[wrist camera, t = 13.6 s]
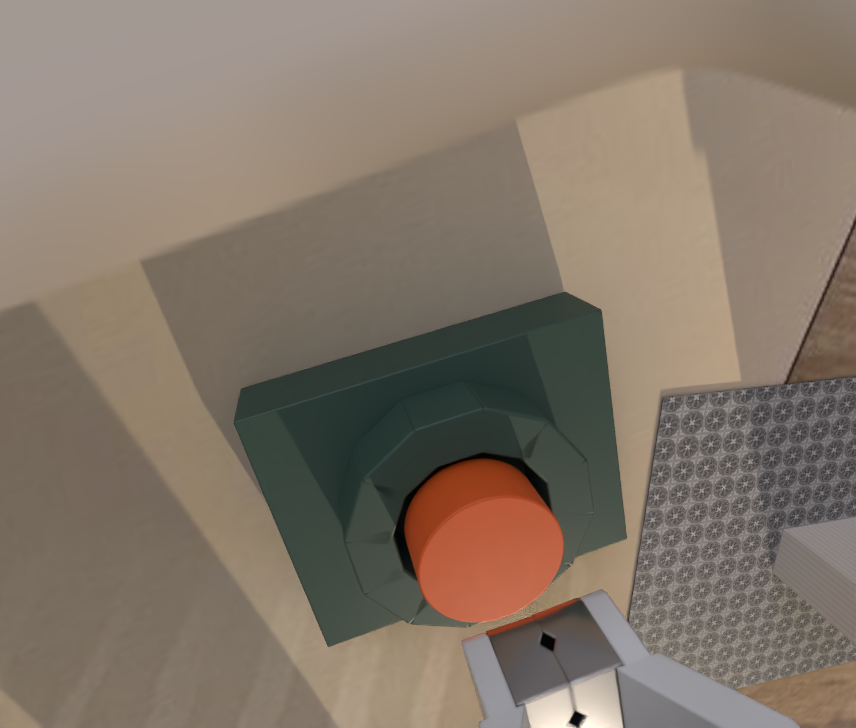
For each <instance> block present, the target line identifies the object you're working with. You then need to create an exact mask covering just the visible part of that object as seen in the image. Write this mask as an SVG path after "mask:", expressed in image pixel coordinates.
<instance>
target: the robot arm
mask: <svg viewBox="0 0 856 728" xmlns="http://www.w3.org/2000/svg"><path fill="white" fill-rule="evenodd" d="M462 646H463V650H464V653H465V657H466V660H467V664H468V667H469V671H470V674H471V678H472V681H473V685H474V688H475V691H476V695H477V698H478V701H479V705H480V708H481V711H482V714H483V717H484V720H482V721H480V724H479V728H800V726H799V725H798V724H797V723H796V722H795V721H794V720H793V719H792V718H790V717H788V716H786V715H784V714H782V713H780V712H778V711H776V710H774V709H772V708H770V707H768V706H766V705H764V704H762V703H760V702H758V701H756V700H754V699H752V698H750V697H748V696H746V695H744V694H742V693H740V692H738V691H736V690H734V689H732V688H730V687H728V686H726V685H724V684H722V683H720V682H718V681H716V680H714V679H711V678H709V677H707V676H705V675H703V674H701V673H699V672H697V671H695V670H693V669H691V668H689V667H687V666H685V665H683V664H681V663H679V662H677V661H675V660H673V659H671V658H669V657H667V656H665V655H663V654H661V653H659V652H657V653H654V654H651V653H650V652H649V651H648V649H647V648H646V646H645V645H644V644H643V642H642V641H641V639H640V638H639V637H638V635H637V634H636V633H635V631H634V630H633V628H632V627H631V626H630V624H629V623H628V621H627V620H626V619H625V617H624V616H623V614H622V613H621V612H620V610H619V609H618V608H617V606H616V605H615V603H614V602H613V601H612V599H611V598H610V596H609V595H608V594H607V592H605V591H604V590H602V589H601V590H598V591H596V592H593V593H590V594H588V595H585V596H582V597H579V598H575V599H573V600H570V601H568V602H565V603H562V604H560V605H557V606H555V607H552V608H549V609H547V610H544V611H542V612H539V613H537V614H534V615H532V616H531V617H528V618H525V619H522V620H519V621H516V622H513V623H510V624H507V625H504V626H501V627H498V628H496V629H493V630H490V631H487V632H486V633H485V632H484V633H482V634H479V635H476V636H473V637H470V638H467V639H464V640H462Z"/></svg>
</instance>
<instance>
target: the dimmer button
mask: <svg viewBox="0 0 856 728" xmlns="http://www.w3.org/2000/svg"><path fill="white" fill-rule="evenodd" d="M404 531H405V538H406V543H407V546H408V550H409V553H410V556H411V560H412V563H413V567H414V570H415V573H416V577H417V580H418V584H419V587H420V589H421V592H422V594H423V596H424V597H425V599H426V601H427V602H428V603H429V604H430V605H431V606H432V607H433V608H434V609H435V610H437V611H438V612H439V613H441V614H443V615H444V616H446V617H449V618H451V619H454V620H458V621H463V622H488V621H493V620H497V619H500V618H504V617H507V616H509V615H511V614H514V613H516V612H517V611H519V610H521V609H523V608H524V607H526V606H527V605H529V604H530V603H532V602H533V601H534V600H535V599H537V598H538V597H539V596H540V595H541V594H542V593H543V592H544V591H545V590H546V588H547V587H548V586H549V585H550V583H551V582H552V580H553V579H554V577H555V575H556V573H557V571H558V569H559V567H560V564H561V561H562V556H563V549H564V542H563V534H562V530H561V527H560V525H559V522H558V520H557V519H556V517H555V516H554V514H553V513H552V512H551V510H550V509H549V508H548V506H547V505H546V503H545V502H544V501H543V499H542V498H541V497H540V495H539V494H538V492H537V491H536V490H535V488H534V487H533V485H532V484H531V483H530V481H529V480H528V479H527V477H526V476H525V475H524V474H523V473H522V472H521V471H519V470H518V469H517V468H515V467H514V466H512V465H510V464H508V463H505V462H502V461H499V460H494V459H486V458H479V459H470V460H465V461H461V462H457V463H455V464H452V465H450V466H448V467H446V468H444V469H442V470H440V471H439V472H437V473H436V474H434V475H433V476H432V477H431V478H429V479H428V480H427V481H426V482H425V483H424V484H423V485H422V486H421V487H420V488H419V490H418V491H417V493H416V494H415V495H414V497H413V499H412V501H411V503H410V505H409V507H408V510H407V513H406V517H405V525H404Z"/></svg>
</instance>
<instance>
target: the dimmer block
mask: <svg viewBox="0 0 856 728" xmlns="http://www.w3.org/2000/svg"><path fill="white" fill-rule="evenodd" d="M234 425H235V428H236V430H237V432H238V435H239V437H240V439H241V442H242V444H243V447H244V449H245V451H246V454H247V456H248V458H249V461H250V463H251V465H252V468H253V470H254V473H255V475H256V477H257V480H258V482H259V484H260V487H261V489H262V492H263V494H264V496H265V499H266V501H267V503H268V506H269V508H270V511H271V513H272V515H273V518H274V520H275V522H276V525H277V527H278V529H279V532H280V534H281V537H282V539H283V541H284V544H285V546H286V548H287V551H288V553H289V556H290V558H291V560H292V563H293V565H294V567H295V570H296V572H297V575H298V577H299V579H300V582H301V584H302V586H303V589H304V591H305V593H306V596H307V598H308V601H309V603H310V605H311V608H312V610H313V612H314V615H315V617H316V620H317V622H318V624H319V627H320V629H321V631H322V634H323V636H324V639H325V641H326V643H327V646H328V647H330V646H333V645H336V644H338V643H341V642H344V641H347V640H349V639H352V638H355V637H358V636H361V635H363V634H366V633H369V632H372V631H374V630H377V629H380V628H383V627H385V626H388V625H391V624H394V623H396V622H399V621H402V620H404V621H405V622H407V623H410V624H414V625H431V626H447V627H464V628H466V627H468V626H469V627H472V626H475V625H477V624H480V623H483V622H463V621H458V620H454V619H451V618H449V617H446V616H444V615H443V614H441V613H439V612H438V611H437V610H435V609H434V608H433V607H432V606H431V605H430V604H429V603H428V602H427V601H426V599H425V597H424V596H423V594H422V592H421V589H420V587H419V584H418V580H417V577H416V573H415V570H414V567H413V563H412V560H411V556H410V553H409V550H408V546H407V543H406V538H405V531H404V525H405V517H406V513H407V510H408V507H409V505H410V503H411V501H412V499H413V497H414V495H415V494H416V493H417V491H418V490H419V488H420V487H421V486H422V485H423V484H424V483H425V482H426V481H427V480H428V479H429V478H431V477H432V476H433V475H434V474H436V473H437V472H439V471H440V470H442V469H444V468H446V467H448V466H450V465H452V464H455V463H457V462H461V461H465V460H470V459H479V458H486V459H494V460H499V461H502V462H505V463H508V464H510V465H512V466H514V467H515V468H517V469H518V470H519V471H521V472H522V473H523V474H524V475H525V476H526V477H527V479H528V480H529V481H530V483H531V484H532V485H533V487H534V488H535V490H536V491H537V492H538V494H539V495H540V497H541V498H542V499H543V501H544V502H545V503H546V505H547V506H548V508H549V509H550V510H551V512H552V513H553V514H554V516H555V517H556V519H557V520H558V522H559V525H560V527H561V530H562V534H563V542H564V549H563V556H562V561H561V564H560V567H559V569H558V571H557V573H556V575H555V577H554V579H553V580H552V582H551V583H553V582H554V581H555V580H556V579H557V578H558V577H559V576H560V575H561V574H562V573H564V572H565V571H566V570H567V569H568V568H569V567H570V565H571V564H572V563H573V561H574V559H575V558H576V557H578V556H581V555H584V554H587V553H589V552H592V551H595V550H598V549H600V548H603V547H606V546H609V545H611V544H614V543H617V542H620V541H622V540H625V539H627V535H626V526H625V517H624V508H623V499H622V490H621V481H620V472H619V463H618V454H617V445H616V436H615V427H614V418H613V409H612V400H611V391H610V382H609V373H608V364H607V355H606V346H605V337H604V328H603V319H602V311H601V309H599V308H597V307H595V306H593V305H591V304H589V303H587V302H585V301H583V300H581V299H579V298H577V297H575V296H573V295H571V294H569V293H567V292H563V293H560V294H556V295H553V296H550V297H546V298H543V299H539V300H536V301H533V302H529V303H526V304H523V305H519V306H516V307H513V308H509V309H506V310H503V311H499V312H496V313H493V314H489V315H486V316H483V317H479V318H476V319H473V320H469V321H466V322H463V323H459V324H456V325H453V326H449V327H446V328H443V329H439V330H436V331H433V332H429V333H426V334H423V335H419V336H416V337H413V338H409V339H406V340H402V341H399V342H396V343H392V344H389V345H386V346H382V347H379V348H376V349H372V350H369V351H366V352H362V353H359V354H356V355H352V356H349V357H346V358H342V359H339V360H336V361H332V362H329V363H326V364H322V365H319V366H316V367H312V368H309V369H306V370H302V371H299V372H296V373H292V374H289V375H286V376H282V377H279V378H276V379H272V380H269V381H265V382H262V383H259V384H255V385H252V386H249V387H245V388H242V389H241V391H240V396H239V400H238V405H237V409H236V414H235V418H234ZM551 583H550V584H551Z"/></svg>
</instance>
